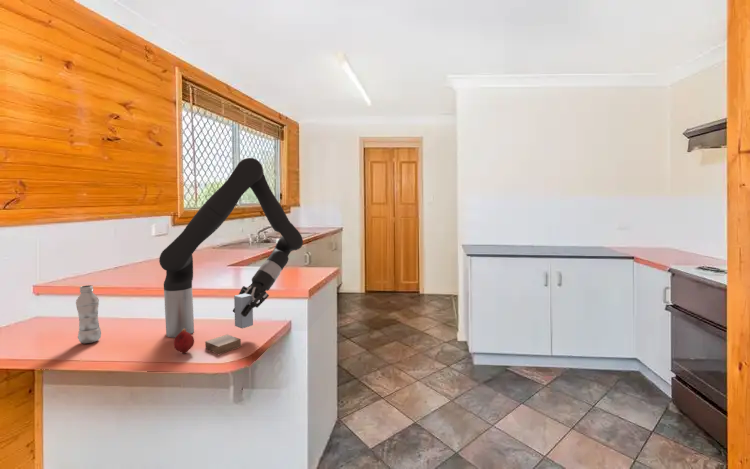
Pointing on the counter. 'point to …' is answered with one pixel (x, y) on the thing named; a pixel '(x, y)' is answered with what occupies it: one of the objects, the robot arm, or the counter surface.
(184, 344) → the onion
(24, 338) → the counter surface
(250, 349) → the counter surface
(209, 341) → the base slab
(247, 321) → the pillar
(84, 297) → the plastic bottle
